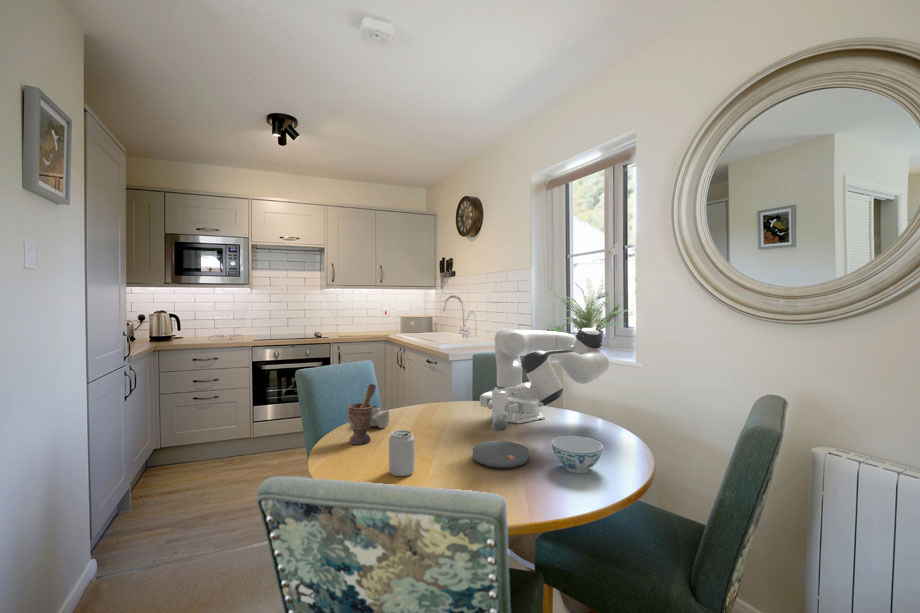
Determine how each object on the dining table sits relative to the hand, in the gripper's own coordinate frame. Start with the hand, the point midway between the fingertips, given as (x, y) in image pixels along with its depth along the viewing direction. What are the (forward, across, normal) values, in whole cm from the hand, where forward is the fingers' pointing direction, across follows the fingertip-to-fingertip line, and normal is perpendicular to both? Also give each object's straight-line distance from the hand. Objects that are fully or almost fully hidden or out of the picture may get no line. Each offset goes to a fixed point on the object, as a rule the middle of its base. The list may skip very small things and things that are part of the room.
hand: (498, 407), depth 135 cm
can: (+24, +20, -17) cm, 36 cm away
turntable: (-1, 0, -16) cm, 16 cm away
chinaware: (-7, -23, -17) cm, 30 cm away
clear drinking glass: (-1, 0, -7) cm, 7 cm away
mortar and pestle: (+9, +51, -17) cm, 55 cm away
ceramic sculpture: (-6, +60, -18) cm, 63 cm away
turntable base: (-1, 0, -17) cm, 17 cm away
